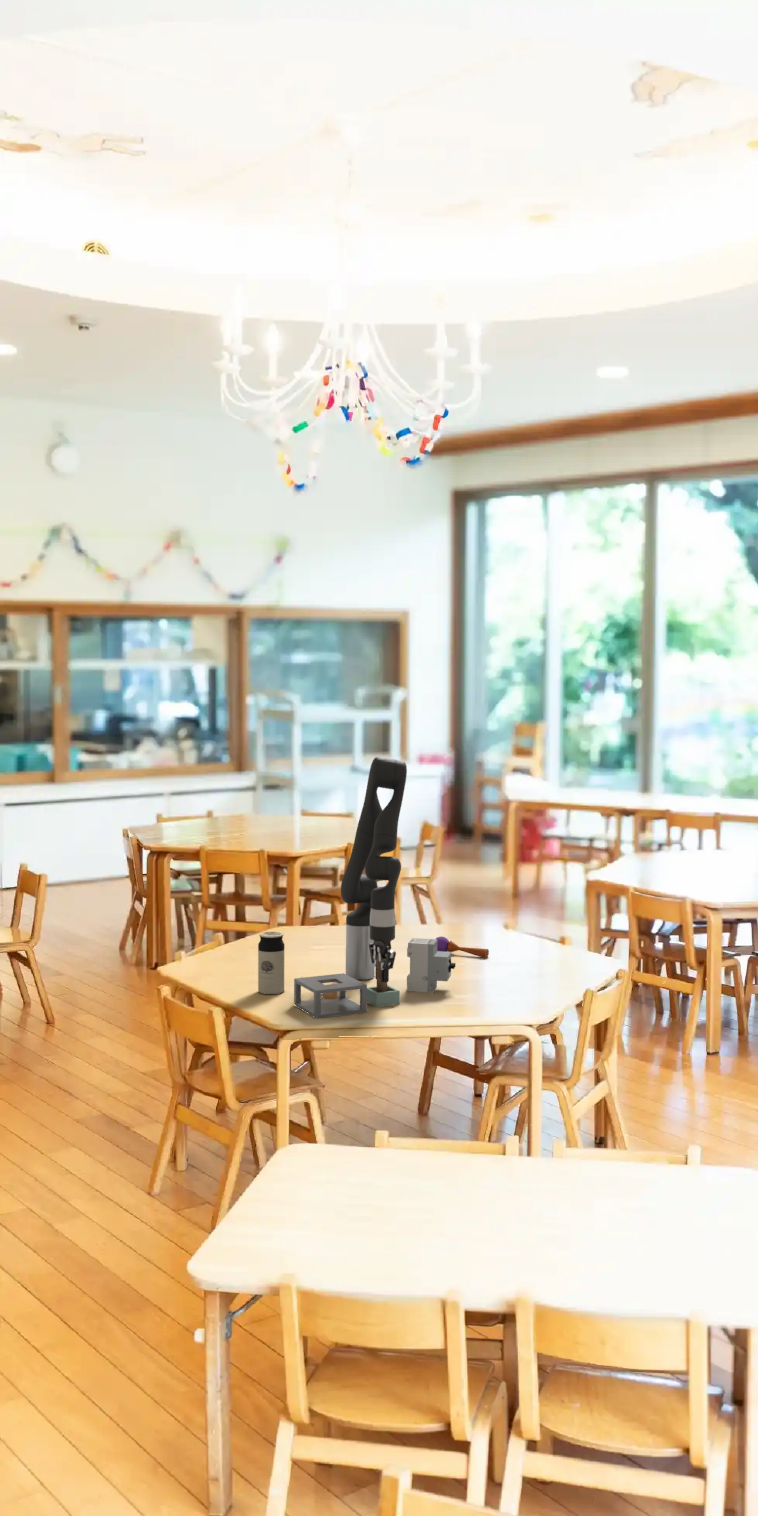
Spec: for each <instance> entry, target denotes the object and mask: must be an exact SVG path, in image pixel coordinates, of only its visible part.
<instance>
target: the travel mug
mask: <svg viewBox="0 0 758 1516" xmlns="http://www.w3.org/2000/svg"><path fill="white" fill-rule="evenodd" d="M284 934H285V933H283V932H282V931H274V930H272V931H269V930H268V931H262V932H260V933H258V935H259V939H260V941H259V942H258V943H257V946H258V948H257V949H258V951H257V952H258V953H257V957H258V958H257V959H258V961H257V965H258V967H257V968H258V969H257V970H258V972H257V973H258V974H257V975H258V976H257V979H258V980H257V982H258V983H257V984H258V985H257V990H258V991H257V992H259V993H260V994H262V993H265V994H264V995H269V994H273V995H279V994H278V993H280V994H282V993H284V992H285V942H284V940H283V938H284V937H283V936H284Z"/></svg>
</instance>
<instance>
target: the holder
mask: <svg viewBox="0 0 758 1516" xmlns="http://www.w3.org/2000/svg"><path fill="white" fill-rule="evenodd" d="M400 994H401V993H400V990H399V989H397V988H395V987H393V986H390V985H388V984H387V992H379V993H378V992H377V986H369V987H368V986H367V1004H370V1005H372V1006H373V1007H375V1008H379V1007H386V1006H389V1007H390V1006H395V1005H400V1002H401V1001H400V1000H401V999H400V998H401V997H400V996H401V995H400Z"/></svg>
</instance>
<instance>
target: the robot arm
mask: <svg viewBox="0 0 758 1516" xmlns="http://www.w3.org/2000/svg"><path fill="white" fill-rule="evenodd" d="M407 767H408V766H407V764H406V762H405V761H404V760H399V759H395V758H390V757H389V758H388V757H382V756H376V757H374V758H373V760H372V762H371V765H370V768H369V772H368V778H367V784H366V789H365V795H364V800H363V801H364V802H363V804H362V809H361V811H360V816H359V821H358V823H357V827H356V832H355V835H354V841H353V845H352V850H351V853H350V857H349V860H348V862H347V865H346V869H345V870H344V874H343V877H342V880H341V884H340V885H341V886H340V896H341V898H342V900H343V902H344V903H346V904H348V905H349V904H351V905H353V904H355V905H356V904H359V905H358V907H357V908H355V910H353V911H351V912H349V913H348V914H347V915H346V916H345V974H346V975H348V976H350V977H352V978H354V979H356V980H358V981H360V980H361V981H363V980H366V981H367V980H371V979H373V978H375V980H377V954H378V955H379V962H381V982H383V983H384V982H387V983H388V982H389V979H390V978H389V976H390V975H389V974H390V972H389V971H390V970H392V969H394V965H395V960H396V955H397V952H396V951H395V950H392V943H391V942H392V941H394V940H395V938H396V911H395V909H396V908H395V898H396V897H395V896H396V895H395V894H396V889H397V885H398V881H399V877H400V874H401V871H402V864H401V861H400V859H399V858H398V857H397V856H392V855H391V856H388V855H387V856H386V855H385V856H384V855H383V854H387V853H391V852H393V851H395V850H396V848H397V843H398V826H399V820H400V819H399V818H400V814H401V809H402V805H403V800H404V799H403V798H404V793H405V788H406V783H407V774H408V772H407V771H408V769H407ZM378 788H382V789H388V790H393V793H392V796H391V799H390V800H389V802H388V803H387V805H386V806H385V807H384V808H382V806H381V804H380V800H379V796H378ZM382 855H383V856H382ZM363 872H364V873H363ZM378 881H388V883H387V884H386V885H384V886H380V887H379V886H378ZM382 958H386V959H382ZM384 962H385V963H384Z"/></svg>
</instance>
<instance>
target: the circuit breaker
mask: <svg viewBox="0 0 758 1516" xmlns="http://www.w3.org/2000/svg"><path fill="white" fill-rule="evenodd" d="M406 957H408V958H409V973H408V975H406V992H413V991H418V992H419V993H431V992H433V993H434V992H435V990H436V988H437V986H438V982H448V981H449V979H450V978H451V976H452V970H454V969H455V968H456V962H452V952H448V951H447V952H443V951H437V939H436V938H414V937H412V938H411V939H410V940H409V941H408V943H407V949H406ZM418 992H417V993H418Z"/></svg>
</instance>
